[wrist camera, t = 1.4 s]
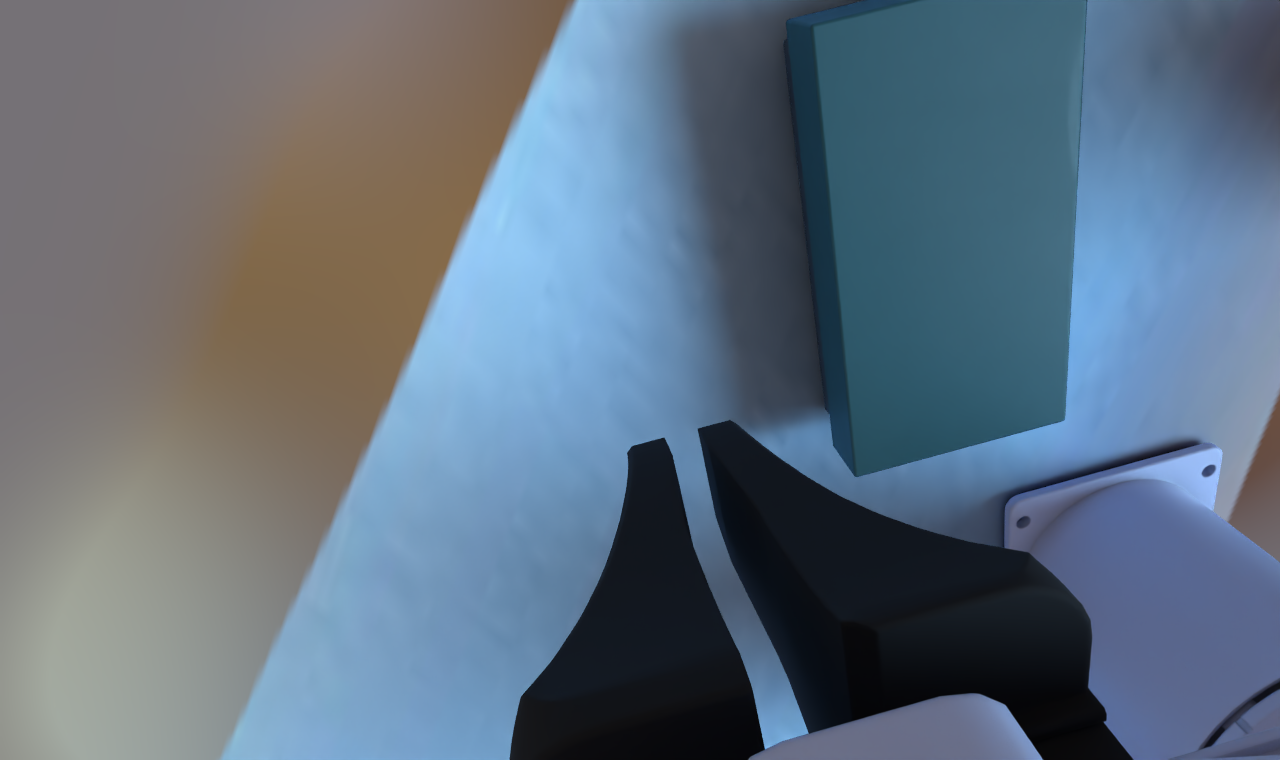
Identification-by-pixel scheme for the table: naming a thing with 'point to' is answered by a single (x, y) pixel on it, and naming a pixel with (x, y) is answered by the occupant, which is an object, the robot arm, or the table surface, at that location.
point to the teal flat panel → (938, 216)
